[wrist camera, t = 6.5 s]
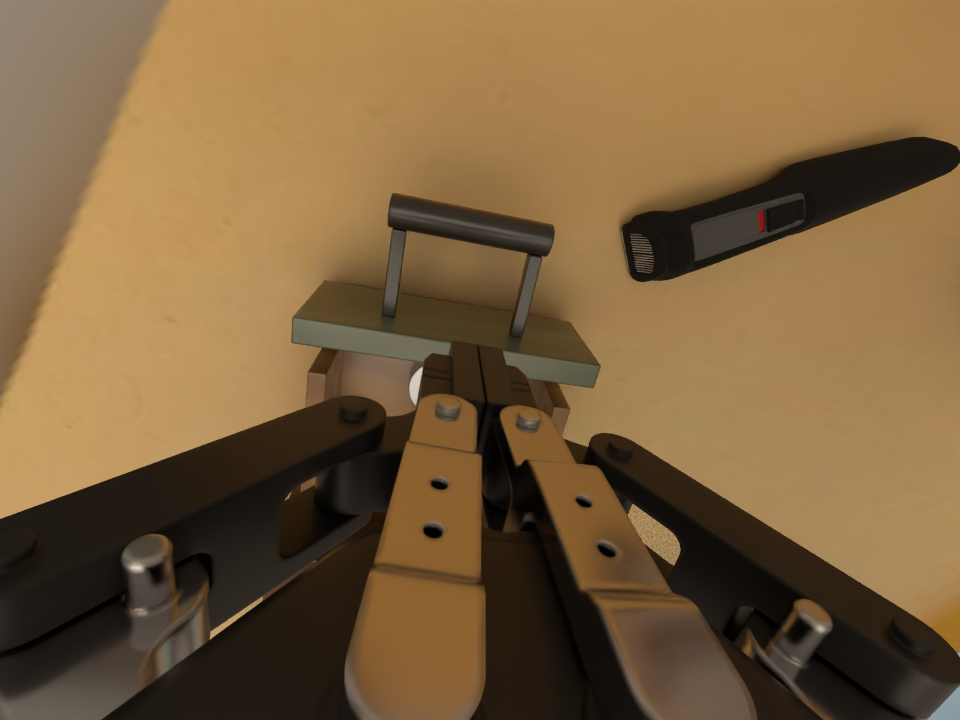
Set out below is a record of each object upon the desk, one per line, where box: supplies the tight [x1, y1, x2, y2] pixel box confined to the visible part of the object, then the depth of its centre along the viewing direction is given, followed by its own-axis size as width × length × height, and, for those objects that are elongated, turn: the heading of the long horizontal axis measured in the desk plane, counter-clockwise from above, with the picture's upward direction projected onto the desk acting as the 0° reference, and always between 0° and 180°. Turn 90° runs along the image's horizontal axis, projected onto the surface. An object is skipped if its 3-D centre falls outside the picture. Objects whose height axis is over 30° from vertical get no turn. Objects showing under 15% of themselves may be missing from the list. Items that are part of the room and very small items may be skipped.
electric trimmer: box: [621, 137, 960, 282], centre depth 24 cm, size 4×16×3 cm, turn 107°
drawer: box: [291, 193, 601, 550], centre depth 25 cm, size 21×13×6 cm, turn 169°
